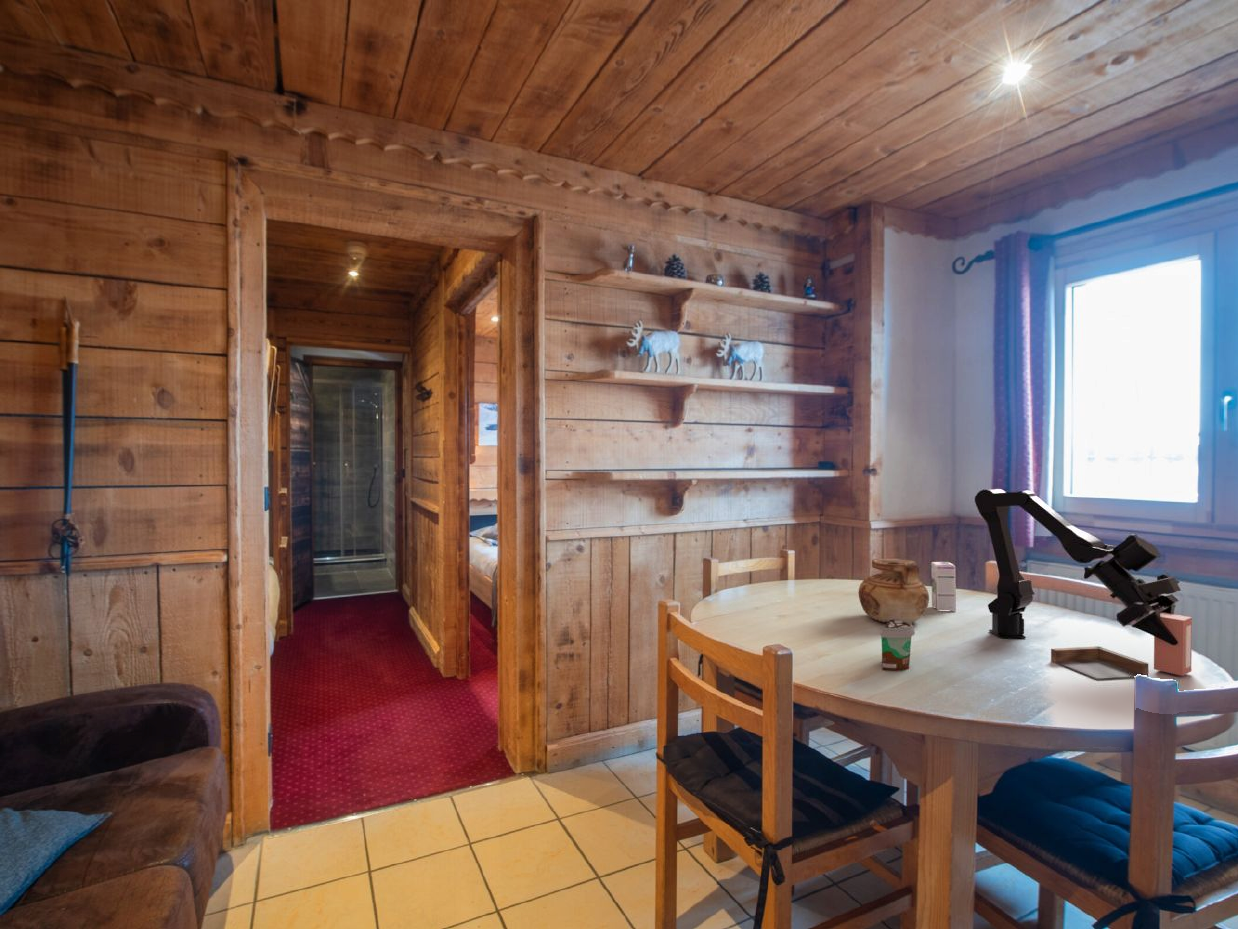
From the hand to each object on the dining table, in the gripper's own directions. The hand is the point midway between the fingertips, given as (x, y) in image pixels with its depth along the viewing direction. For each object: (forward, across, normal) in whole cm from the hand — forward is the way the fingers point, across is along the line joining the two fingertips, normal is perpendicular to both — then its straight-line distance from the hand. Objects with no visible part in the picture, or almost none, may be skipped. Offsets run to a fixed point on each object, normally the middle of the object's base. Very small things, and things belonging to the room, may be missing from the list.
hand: (1180, 642), depth 139 cm
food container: (-21, -46, +32) cm, 59 cm away
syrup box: (-38, +13, +49) cm, 64 cm away
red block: (+4, 0, +6) cm, 7 cm away
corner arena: (-3, -11, +13) cm, 18 cm away
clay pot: (-39, -12, +50) cm, 64 cm away
